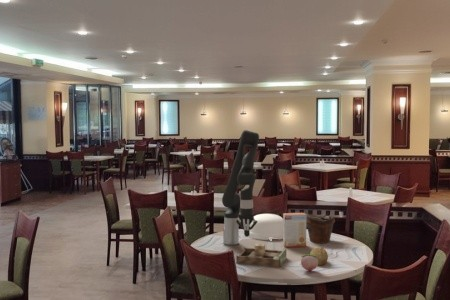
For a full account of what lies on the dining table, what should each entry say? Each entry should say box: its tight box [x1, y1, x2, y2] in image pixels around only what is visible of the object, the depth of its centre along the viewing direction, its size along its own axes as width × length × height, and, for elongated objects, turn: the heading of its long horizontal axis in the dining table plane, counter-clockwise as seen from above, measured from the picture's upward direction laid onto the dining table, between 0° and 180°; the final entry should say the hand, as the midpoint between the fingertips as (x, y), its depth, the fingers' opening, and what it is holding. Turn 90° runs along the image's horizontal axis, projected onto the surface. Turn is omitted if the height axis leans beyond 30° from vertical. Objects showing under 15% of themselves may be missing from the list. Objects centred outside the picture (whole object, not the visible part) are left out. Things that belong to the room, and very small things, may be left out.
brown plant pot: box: [306, 213, 336, 244], centre depth 328 cm, size 18×20×18 cm
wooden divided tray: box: [235, 247, 287, 268], centre depth 284 cm, size 25×18×6 cm
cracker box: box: [282, 212, 307, 248], centre depth 315 cm, size 14×6×21 cm, turn 95°
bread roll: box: [309, 247, 329, 266], centre depth 282 cm, size 10×15×8 cm, turn 4°
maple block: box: [254, 243, 266, 255], centre depth 288 cm, size 5×5×5 cm
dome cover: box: [248, 213, 283, 241], centre depth 345 cm, size 32×30×14 cm
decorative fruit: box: [300, 252, 319, 272], centre depth 265 cm, size 9×8×10 cm
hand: (246, 236), depth 290 cm, fingers closed
